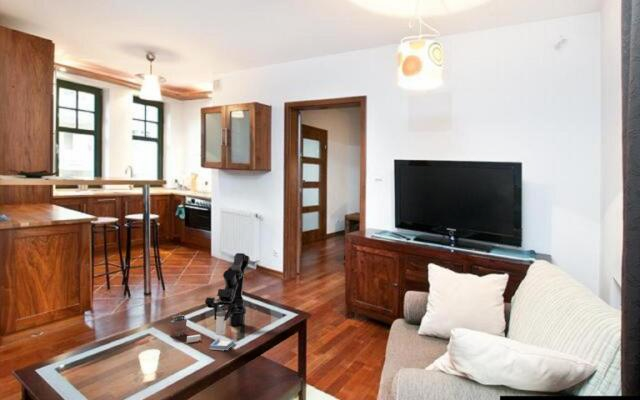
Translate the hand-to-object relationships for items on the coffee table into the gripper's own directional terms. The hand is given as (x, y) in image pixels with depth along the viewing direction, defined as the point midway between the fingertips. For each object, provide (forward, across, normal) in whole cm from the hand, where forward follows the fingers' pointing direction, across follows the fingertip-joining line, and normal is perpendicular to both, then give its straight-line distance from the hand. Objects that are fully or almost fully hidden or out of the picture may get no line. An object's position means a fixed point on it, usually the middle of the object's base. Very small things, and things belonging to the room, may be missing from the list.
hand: (219, 320), depth 164 cm
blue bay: (+8, +1, +10) cm, 13 cm away
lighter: (+2, -26, +16) cm, 30 cm away
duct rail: (+6, -15, +12) cm, 20 cm away
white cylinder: (+4, 0, +6) cm, 7 cm away
